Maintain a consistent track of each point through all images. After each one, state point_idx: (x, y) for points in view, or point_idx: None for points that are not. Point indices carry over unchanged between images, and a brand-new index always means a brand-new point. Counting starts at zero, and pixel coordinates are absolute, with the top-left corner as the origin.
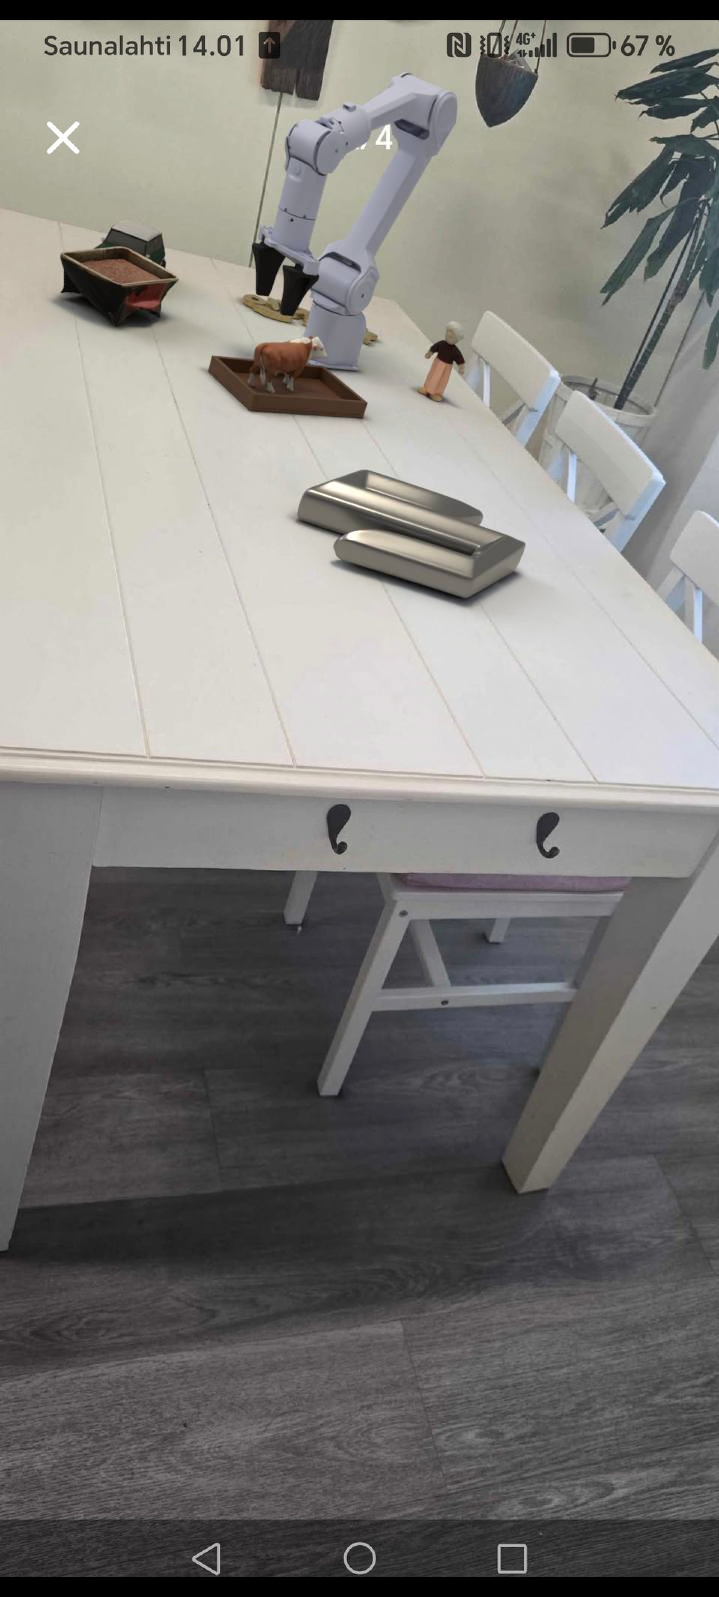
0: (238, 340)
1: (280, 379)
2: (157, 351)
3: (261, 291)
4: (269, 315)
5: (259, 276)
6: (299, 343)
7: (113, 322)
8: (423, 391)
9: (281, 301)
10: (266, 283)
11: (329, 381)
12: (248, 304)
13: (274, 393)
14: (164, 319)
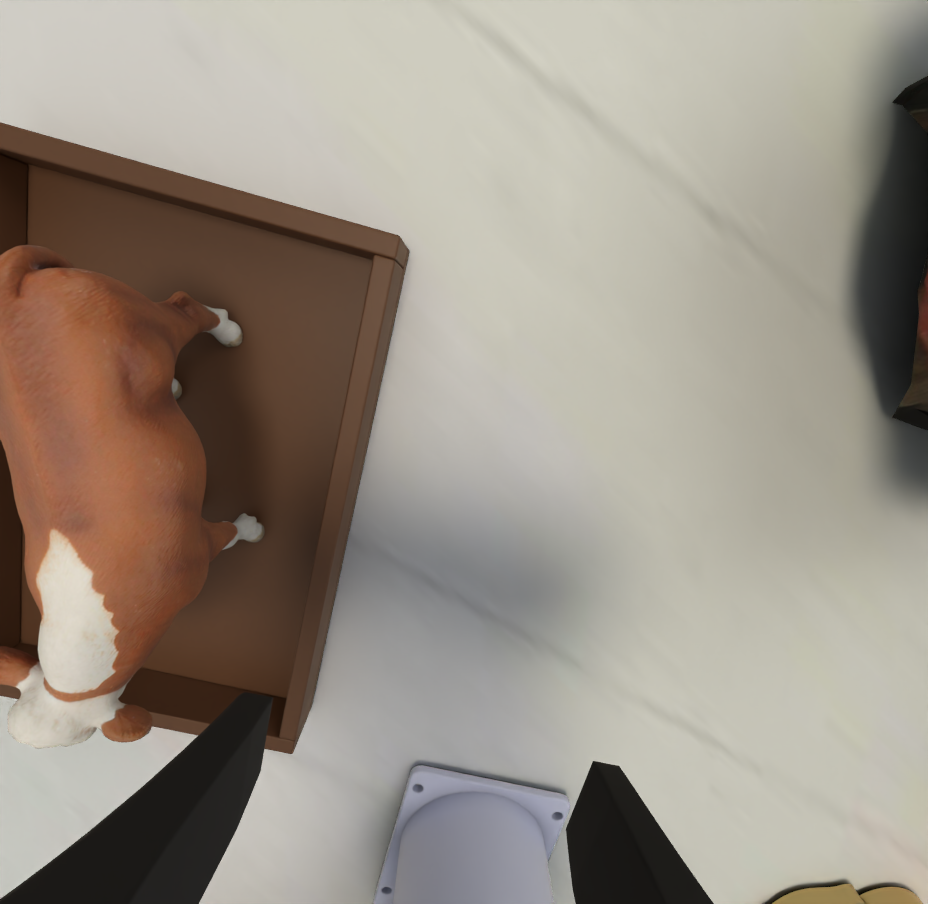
0: (651, 640)
1: (293, 533)
2: (622, 128)
3: (591, 804)
4: (787, 900)
5: (657, 901)
6: (35, 586)
7: (921, 79)
8: None
9: (225, 758)
10: (604, 899)
11: (220, 702)
12: (881, 891)
13: None
14: (884, 451)
